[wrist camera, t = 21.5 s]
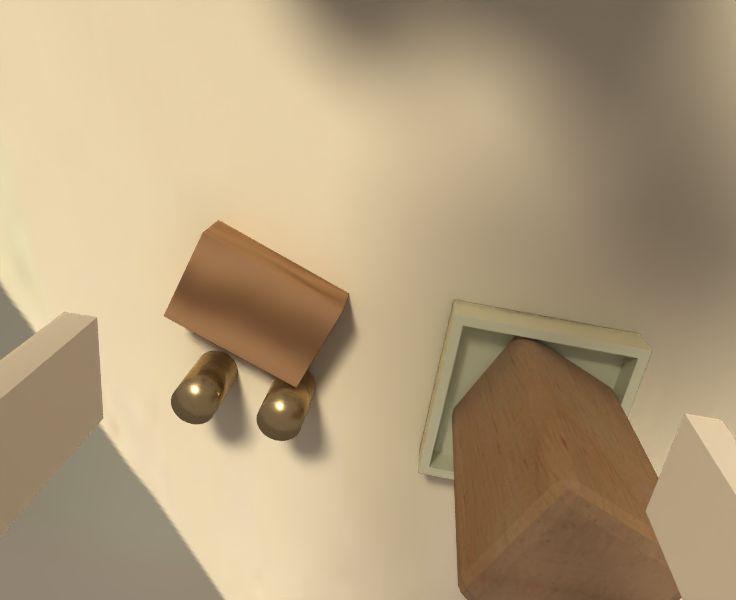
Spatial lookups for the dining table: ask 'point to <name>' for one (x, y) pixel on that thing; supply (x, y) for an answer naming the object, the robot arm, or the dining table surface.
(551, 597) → the block
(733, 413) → the dining table surface
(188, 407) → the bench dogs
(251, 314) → the wooden book-shaped slab
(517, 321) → the tray
